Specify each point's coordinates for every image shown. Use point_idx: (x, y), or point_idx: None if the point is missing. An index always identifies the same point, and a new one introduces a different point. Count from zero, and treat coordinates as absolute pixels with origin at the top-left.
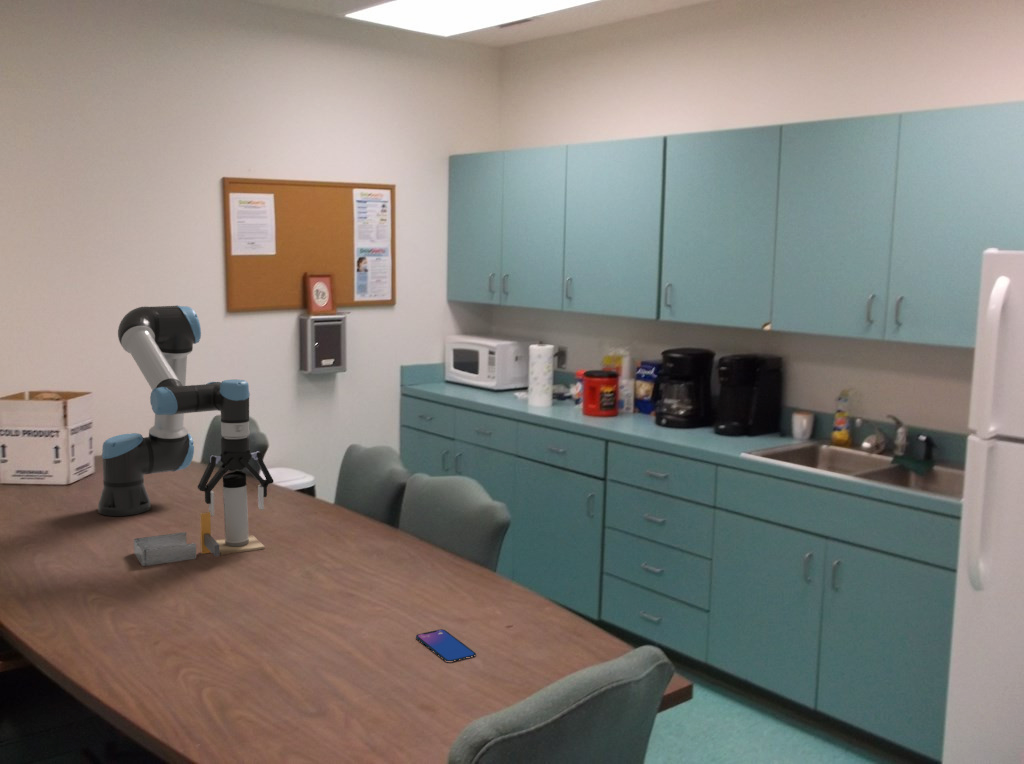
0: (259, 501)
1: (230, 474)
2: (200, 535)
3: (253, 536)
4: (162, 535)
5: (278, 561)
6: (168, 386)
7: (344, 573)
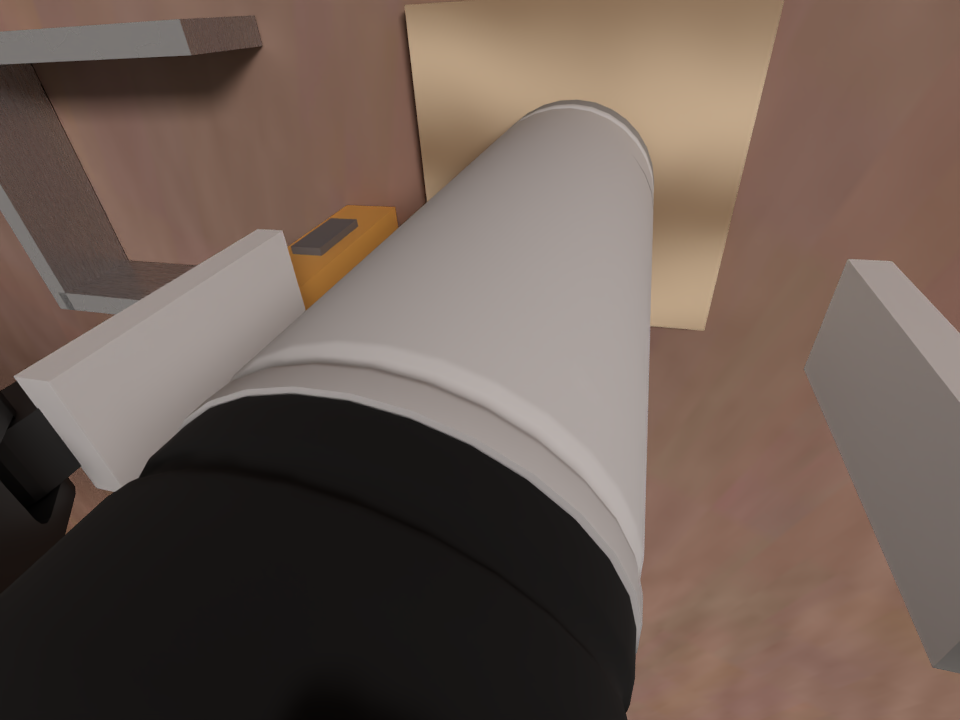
0: (859, 374)
1: (87, 700)
2: (290, 247)
3: (768, 44)
4: (42, 42)
5: (659, 501)
6: None
7: (799, 683)
